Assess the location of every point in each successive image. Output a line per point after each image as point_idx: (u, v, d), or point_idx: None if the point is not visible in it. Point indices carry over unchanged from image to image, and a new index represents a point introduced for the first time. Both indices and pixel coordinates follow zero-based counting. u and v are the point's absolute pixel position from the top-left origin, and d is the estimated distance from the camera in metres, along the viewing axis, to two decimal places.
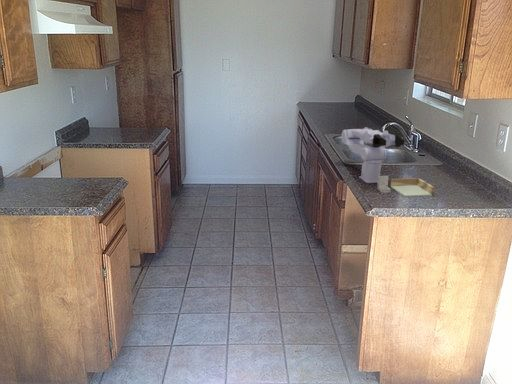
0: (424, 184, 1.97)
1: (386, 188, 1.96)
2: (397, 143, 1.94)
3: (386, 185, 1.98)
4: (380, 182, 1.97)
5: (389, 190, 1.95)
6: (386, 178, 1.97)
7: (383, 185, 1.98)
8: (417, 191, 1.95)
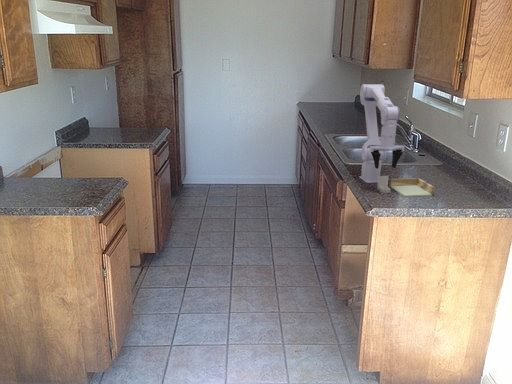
0: (424, 184, 1.97)
1: (386, 188, 1.96)
2: (393, 155, 1.95)
3: (386, 185, 1.98)
4: (380, 182, 1.97)
5: (389, 190, 1.95)
6: (386, 178, 1.97)
7: (383, 185, 1.98)
8: (417, 191, 1.95)
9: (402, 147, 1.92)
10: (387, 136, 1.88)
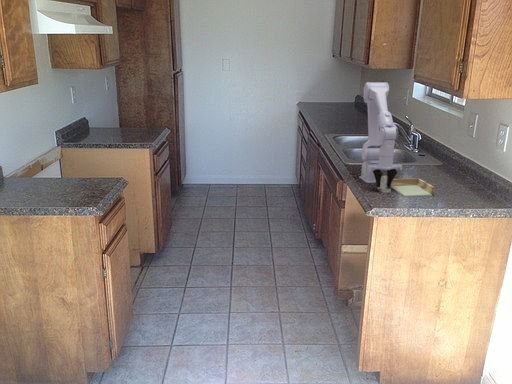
0: (424, 184, 1.97)
1: (386, 188, 1.96)
2: (388, 174, 1.97)
3: (386, 185, 1.98)
4: None
5: (389, 190, 1.95)
6: (386, 178, 1.97)
7: (383, 185, 1.98)
8: (417, 191, 1.95)
9: (400, 166, 1.95)
10: (385, 156, 1.91)
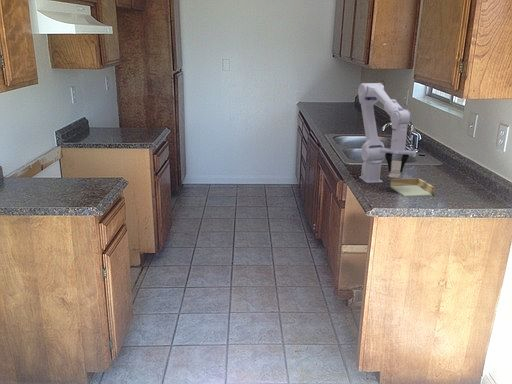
0: (424, 184, 1.97)
1: (395, 173, 1.92)
2: None
3: (399, 170, 1.94)
4: (392, 166, 1.94)
5: (397, 175, 1.91)
6: (399, 163, 1.93)
7: (396, 170, 1.94)
8: (417, 191, 1.95)
9: (413, 153, 1.89)
10: (399, 140, 1.88)
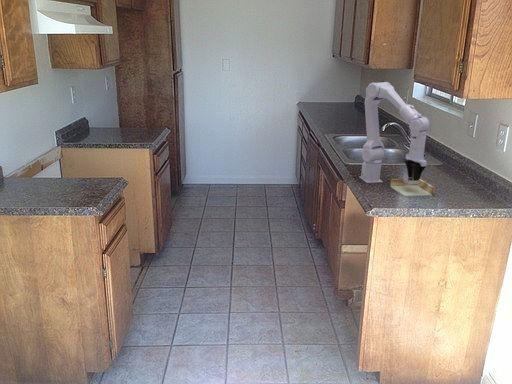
0: (424, 184, 1.97)
1: (408, 179, 1.93)
2: None
3: None
4: (412, 173, 1.95)
5: (406, 181, 1.92)
6: None
7: None
8: (417, 191, 1.95)
9: (420, 162, 1.85)
10: (420, 147, 1.87)
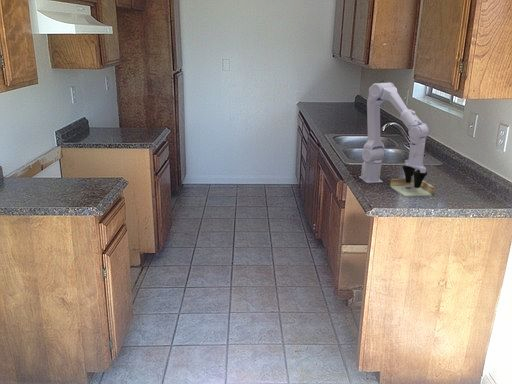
0: (424, 184, 1.97)
1: (407, 188, 1.94)
2: None
3: None
4: (411, 181, 1.96)
5: (405, 190, 1.93)
6: None
7: (412, 186, 1.95)
8: None
9: (420, 168, 1.86)
10: (419, 154, 1.88)
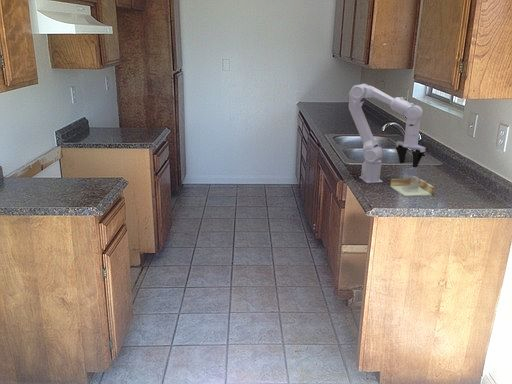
0: (424, 184, 1.97)
1: (407, 188, 1.94)
2: None
3: (414, 187, 1.93)
4: (411, 181, 1.96)
5: (405, 190, 1.93)
6: (414, 179, 1.93)
7: (412, 186, 1.95)
8: None
9: (420, 148, 1.93)
10: (417, 134, 1.95)
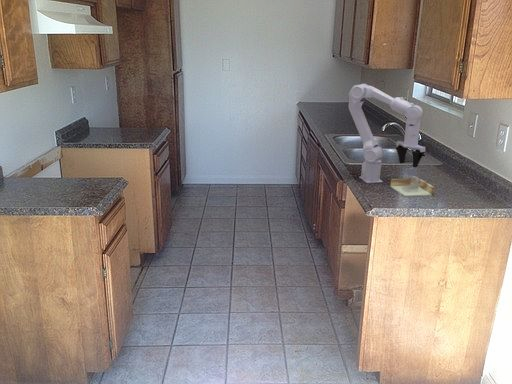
0: (424, 184, 1.97)
1: (407, 188, 1.94)
2: None
3: (414, 187, 1.93)
4: (411, 181, 1.96)
5: (405, 190, 1.93)
6: (414, 179, 1.93)
7: (412, 186, 1.95)
8: None
9: (420, 148, 1.94)
10: (417, 134, 1.95)
